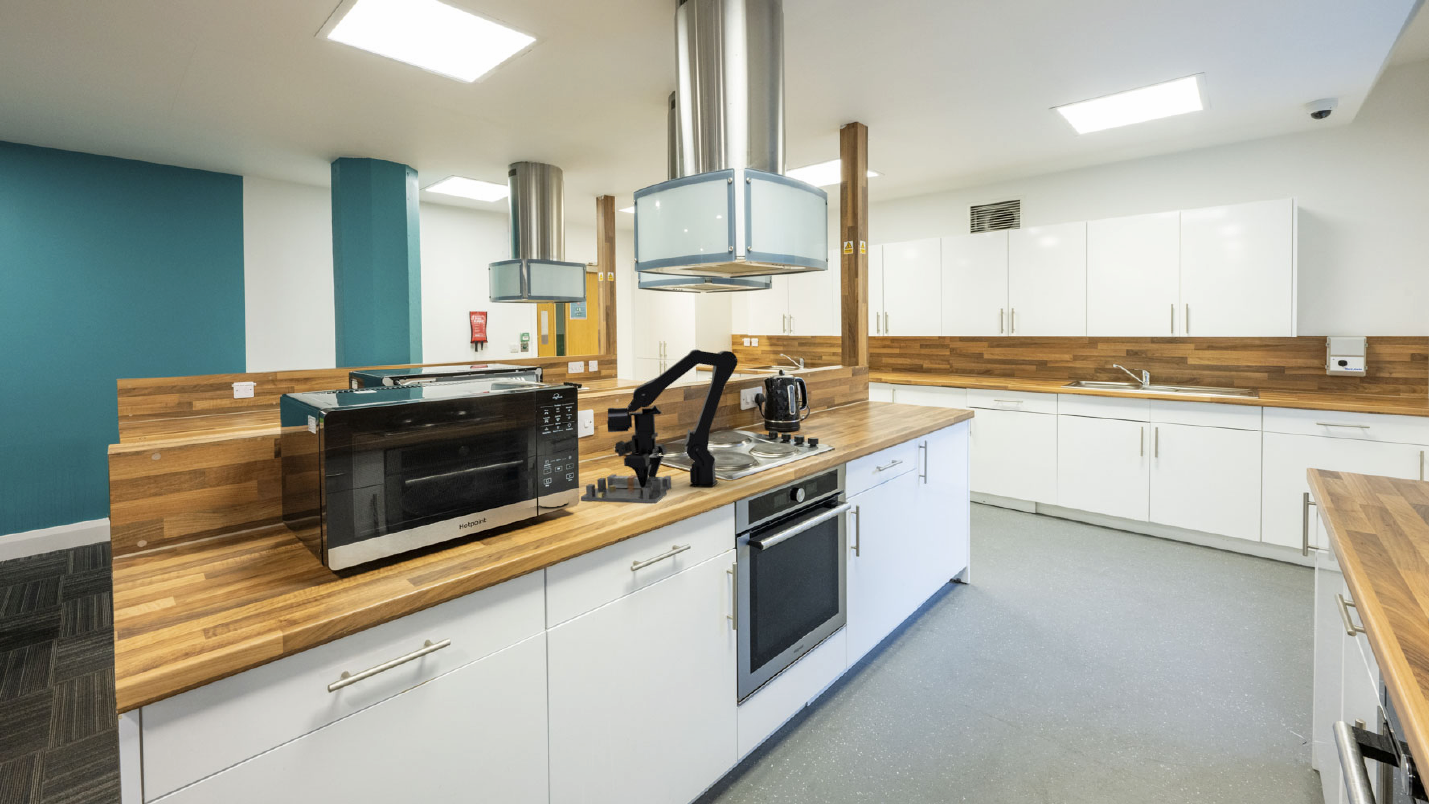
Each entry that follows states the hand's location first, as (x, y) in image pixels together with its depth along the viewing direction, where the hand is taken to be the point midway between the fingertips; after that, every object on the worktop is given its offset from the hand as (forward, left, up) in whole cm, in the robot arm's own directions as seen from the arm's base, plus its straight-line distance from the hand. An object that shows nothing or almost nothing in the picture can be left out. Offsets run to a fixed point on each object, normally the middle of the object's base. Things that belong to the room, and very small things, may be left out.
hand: (647, 484), depth 170 cm
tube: (+2, 0, -1) cm, 3 cm away
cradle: (+3, +10, -1) cm, 10 cm away
